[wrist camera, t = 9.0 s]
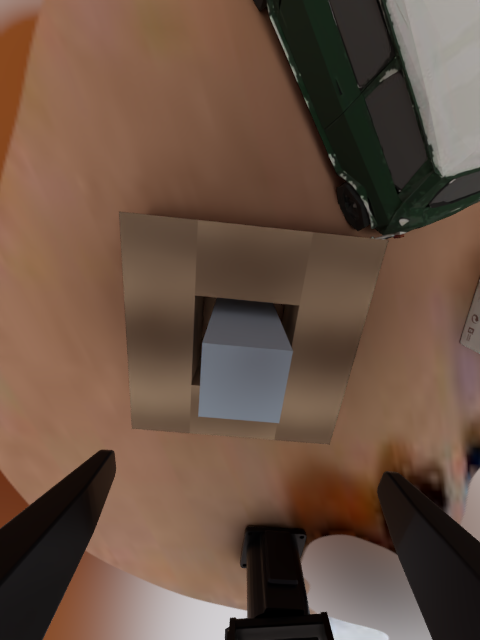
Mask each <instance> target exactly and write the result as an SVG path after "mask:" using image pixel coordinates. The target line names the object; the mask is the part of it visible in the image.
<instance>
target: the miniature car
mask: <svg viewBox="0 0 480 640" xmlns="http://www.w3.org/2000/svg"><path fill="white" fill-rule="evenodd" d="M253 1H254V2H255V4H256V6H257V7H258V9H259V11H261V10H262V9H263V8H265V7H266V6H267V7H268V13H269V17H270V19H271V22H272V24H273V26H274V29H275V31H276V33H277V36H278V38H279V40H280V43H281V45H282V47H283V50H284V52H285V54H286V57H287V59H288V61H289V64H290V66H291V68H292V71H293V73H294V75H295V78H296V80H297V82H298V85H299V87H300V90H301V92H302V94H303V97H304V99H305V101H306V104H307V106H308V108H309V111H310V113H311V115H312V118H313V120H314V122H315V125H316V127H317V129H318V132H319V134H320V136H321V139H322V141H323V143H324V146H325V148H326V150H327V153H328V155H329V157H330V160H331V162H332V164H333V167H334V169H335V171H336V174H337V175H338V176H340V177H341V178H343V179H344V180H345V181H347V182H345V183H344V184H342V185H341V186H339V187H338V188H337V195H338V203H339V205H340V208H341V210H342V212H343V214H344V216H345V218H346V220H347V222H348V223H349V224H350V225H351V226H352V227H354V228H355V229H356V230H357V231H359V230H361V229H363V228H365V227H367V226H369V225H371V228H372V229H374V228H375V227H376V228H375V229H376V230H377V231H378V232H379V233H381V234H382V235H383V236H381V237H378V238H374V237H371V238H373V239H382V240H385V239H388V238H391V237H394V238H401V237H404V233H407V232H409V231H411V230H414V229H417V228H421V227H424V226H426V225H429V224H431V223H434V222H436V221H439V220H441V219H444V218H446V217H449V216H451V215H454V214H456V213H457V212H459V211H461V210H463V209H465V208H467V207H469V206H471V205H473V204H475V203H477V202H479V201H480V0H253Z"/></svg>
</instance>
